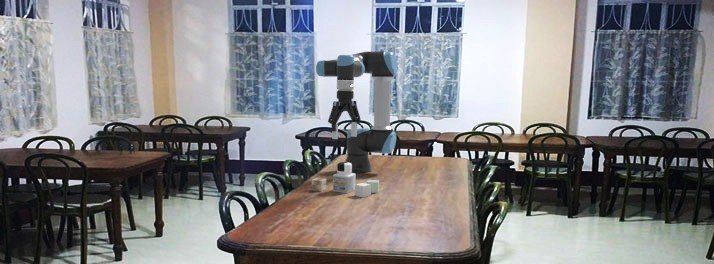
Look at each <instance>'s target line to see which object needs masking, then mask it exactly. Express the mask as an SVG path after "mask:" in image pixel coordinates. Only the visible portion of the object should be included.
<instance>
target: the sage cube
mask: <svg viewBox="0 0 714 264" xmlns="http://www.w3.org/2000/svg"><path fill="white" fill-rule="evenodd" d="M366 184H370V185H371V194H379V191H380V180H379V179H367V181H366Z"/></svg>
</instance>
